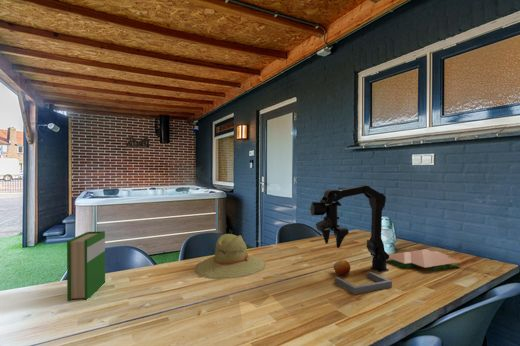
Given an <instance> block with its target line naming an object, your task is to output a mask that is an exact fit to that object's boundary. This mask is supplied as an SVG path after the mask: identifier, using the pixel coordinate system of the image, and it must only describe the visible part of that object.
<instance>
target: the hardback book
mask: <svg viewBox="0 0 520 346" xmlns="http://www.w3.org/2000/svg"><path fill="white" fill-rule="evenodd" d="M66 250H67V251H66V275H67V276H66V277H67V280H66V283H67V284H66V285H67V286H66V287H67V288H66V291H67V292H66V294H67V296H66V297H67V299H66V300H67V301H66V302H70V300H71V299H72V300H73V299H84V300H85V301H88V300H89V299H90V298H91V297H92V296H93V295H94V294H96V293H97V292H98V291H99V290H100V289H101V288H102V287H103V286H104V285H105V284H104V283H106V233H105V230H104V231H103V230H102V231H97V230H96V231H86V232H84V233H82V234H80V235H78V236H75V237H71V239H70V238H69V239H68V240H66ZM103 284H104V285H103ZM102 285H103V286H102ZM101 286H102V287H101ZM100 287H101V288H100ZM99 288H100V289H99ZM88 298H89V299H88ZM87 299H88V300H87ZM72 300H71V301H72Z"/></svg>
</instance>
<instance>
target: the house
mask: <svg viewBox="0 0 520 346" xmlns="http://www.w3.org/2000/svg"><path fill="white" fill-rule="evenodd" d="M388 255H389V263H390V264H392V265H395V266H397V267H399V266H401V268H403V269H406V267H408V269H409V268H411V267H412V265H413V266H415V267H420V268H424V269H427V270H429V271H430V268H431V271H432V272H434V270H435V267H436V271H437V270H439V271H440V267H441V266H443V267H444V270H447V265H450V269H451V268H453V267H454V268H455V265H456V266H457V268H460V263H462V261H460V260H458V259H454V258H452V256H451V255H449V254H445V253H443V252H440V251H437V250H436V251H432V250H429V249H418V250H413V251H405V252H399V253H394V254H388Z"/></svg>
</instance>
